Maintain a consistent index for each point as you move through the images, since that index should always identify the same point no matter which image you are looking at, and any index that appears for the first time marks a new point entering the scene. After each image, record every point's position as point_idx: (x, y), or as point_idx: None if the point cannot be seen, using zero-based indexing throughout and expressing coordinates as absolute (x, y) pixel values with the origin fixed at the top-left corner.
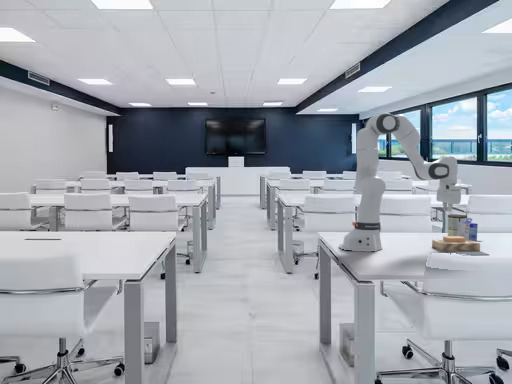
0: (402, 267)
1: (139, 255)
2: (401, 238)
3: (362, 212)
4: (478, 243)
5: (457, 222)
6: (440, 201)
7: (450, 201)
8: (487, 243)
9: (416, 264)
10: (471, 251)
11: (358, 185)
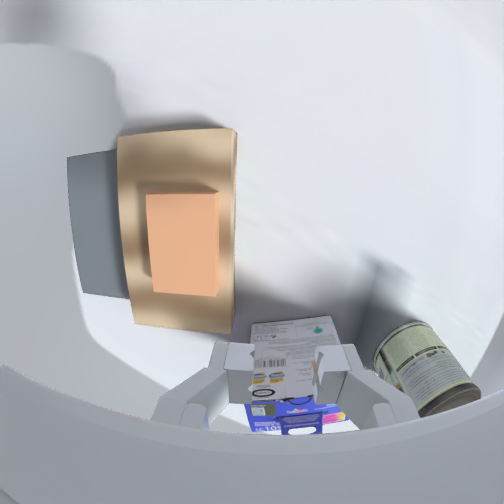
0: (17, 10)
1: None
2: (461, 114)
3: None
4: (134, 316)
5: (411, 395)
6: (466, 404)
7: (32, 407)
8: None
9: (21, 33)
10: (121, 262)
11: None
